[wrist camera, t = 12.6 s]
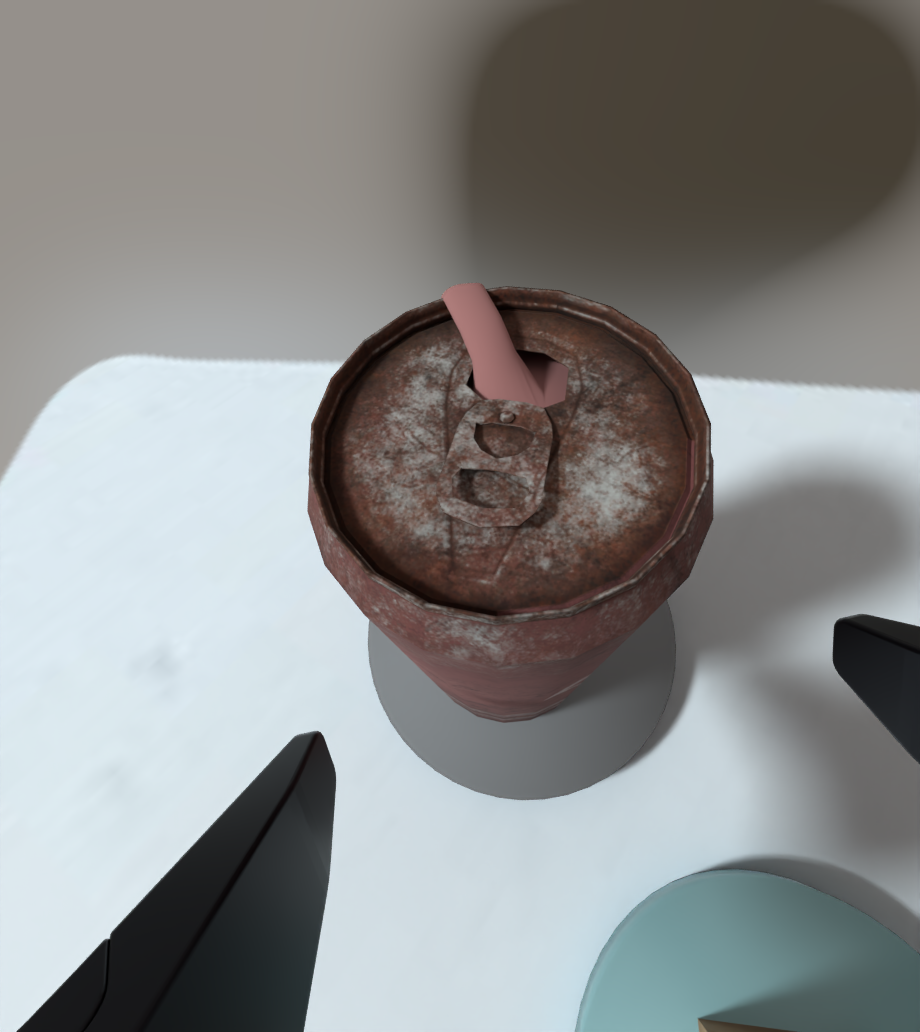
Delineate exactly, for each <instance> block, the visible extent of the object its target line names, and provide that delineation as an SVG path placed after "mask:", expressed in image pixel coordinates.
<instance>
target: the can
mask: <svg viewBox="0 0 920 1032" xmlns="http://www.w3.org/2000/svg"><path fill="white" fill-rule="evenodd" d="M308 514H309V517H310V521H311V524H312V527H313V530H314V533H315V536H316V539H317V542H318V546H319V549H320V552H321V555H322V558H323V561H324V564H325V566H326V567H327V569H328V570H329V571H330V572H331V574H332V575H333V576H334V577H335V579H336V580H337V581H338V582H339V584H340V585H341V586H342V587H343V589H344V590H345V591H346V592H347V594H348V595H349V596H350V597H351V599H352V600H353V601H354V602H355V604H356V605H357V606H358V607H359V609H360V610H361V611H362V612H363V614H364V615H365V616H366V617H367V618H368V619H369V620H370V621H371V622H372V623H374V624H375V625H376V626H377V627H378V628H379V629H380V630H381V631H382V632H383V633H384V634H385V635H386V636H387V637H388V638H389V639H390V640H391V641H392V642H393V643H394V644H395V645H396V646H397V647H398V648H399V649H400V650H401V651H402V652H403V653H404V654H405V655H406V656H407V657H408V658H409V659H411V660H412V661H413V662H414V663H415V664H416V665H417V666H418V667H419V668H420V669H421V670H422V671H423V672H424V673H425V674H426V675H427V676H428V677H429V678H430V679H431V680H432V681H433V682H434V683H435V684H436V685H437V686H438V687H439V688H440V689H441V690H442V691H443V692H444V693H445V694H447V695H448V696H449V697H450V698H451V699H452V700H453V701H454V702H455V703H456V704H458V705H460V706H461V707H463V708H464V709H466V710H468V711H469V712H471V713H472V714H474V715H476V716H477V717H481V718H485V719H489V720H494V721H498V722H502V723H508V722H518V721H527V720H532V719H534V718H536V717H538V716H540V715H543V714H545V713H547V712H549V711H551V710H553V709H555V708H556V707H557V706H558V705H559V704H560V703H561V702H562V701H563V700H564V699H565V698H567V697H568V696H569V695H570V694H571V693H572V692H573V691H574V690H575V689H576V688H577V687H578V686H579V685H580V684H581V683H582V682H583V681H584V680H585V679H586V678H587V677H588V676H589V675H590V674H591V673H592V672H593V671H594V670H595V669H596V668H598V667H599V666H600V665H601V664H602V663H603V662H604V661H605V660H606V659H607V658H608V657H609V656H610V655H611V654H612V653H613V652H614V651H615V650H616V649H617V648H618V647H619V646H620V645H621V644H622V643H623V642H624V641H625V640H626V639H628V638H629V637H630V636H631V635H632V634H633V633H634V632H635V631H636V630H637V629H638V628H639V627H640V626H641V625H642V624H643V623H644V622H645V621H646V620H647V619H648V618H649V617H650V616H651V615H652V614H653V613H654V612H655V611H656V610H657V609H658V608H659V607H660V606H661V605H662V604H663V603H664V602H665V600H666V599H667V598H668V597H669V596H670V595H671V594H672V593H673V592H674V591H675V590H676V589H677V588H678V587H679V586H680V585H681V584H682V583H683V582H684V581H685V580H686V579H687V578H688V577H689V575H690V573H691V570H692V568H693V566H694V563H695V561H696V558H697V556H698V554H699V551H700V549H701V547H702V544H703V542H704V539H705V537H706V535H707V532H708V530H709V527H710V525H711V523H712V520H713V457H712V454H711V423H710V420H709V418H708V415H707V413H706V410H705V408H704V405H703V403H702V400H701V398H700V395H699V393H698V390H697V388H696V385H695V383H694V380H693V378H692V375H691V374H690V373H689V371H688V370H687V369H686V368H685V367H684V366H683V365H682V363H681V362H680V361H679V360H678V359H677V358H676V357H675V356H674V354H673V353H672V352H671V351H670V350H669V349H668V348H667V346H666V345H665V344H664V343H663V342H662V341H661V340H660V339H659V337H658V336H657V335H656V334H654V333H653V332H651V331H649V330H648V329H646V328H645V327H643V326H641V325H640V324H638V323H637V322H635V321H633V320H632V319H630V318H629V317H627V316H625V315H624V314H622V313H621V312H618V311H617V310H616V309H614V308H613V307H611V306H608V305H605V304H601V303H598V302H595V301H592V300H589V299H586V298H582V297H579V296H576V295H573V294H570V293H566V292H563V291H560V290H547V289H535V288H521V287H509V286H506V287H499V288H492V289H485V288H484V286H483V285H482V284H480V283H467V284H458V285H454V286H452V287H450V288H449V289H447V290H446V291H445V292H444V293H443V294H442V297H441V299H439V300H436V301H434V302H431V303H428V304H426V305H423V306H420V307H418V308H415V309H412V310H410V311H407V312H405V313H404V314H402V315H401V316H399V317H398V318H396V319H395V320H393V321H392V322H390V323H389V324H387V325H386V326H384V327H383V328H382V329H380V330H378V331H377V332H376V333H374V334H373V335H371V336H370V337H368V338H367V339H365V340H364V341H363V342H362V343H361V344H360V346H358V348H357V349H356V350H355V351H354V352H353V353H352V355H351V356H350V357H349V358H348V359H347V360H346V362H345V363H344V364H343V365H342V366H341V367H340V369H339V370H338V371H337V372H336V373H335V374H334V376H333V377H332V378H331V380H330V382H329V384H328V387H327V389H326V391H325V394H324V396H323V398H322V401H321V403H320V405H319V408H318V410H317V412H316V415H315V417H314V419H313V422H312V424H311V441H310V459H309V493H308Z"/></svg>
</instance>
